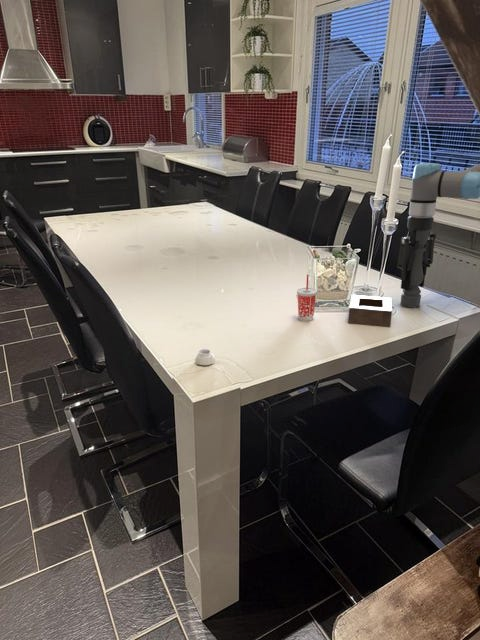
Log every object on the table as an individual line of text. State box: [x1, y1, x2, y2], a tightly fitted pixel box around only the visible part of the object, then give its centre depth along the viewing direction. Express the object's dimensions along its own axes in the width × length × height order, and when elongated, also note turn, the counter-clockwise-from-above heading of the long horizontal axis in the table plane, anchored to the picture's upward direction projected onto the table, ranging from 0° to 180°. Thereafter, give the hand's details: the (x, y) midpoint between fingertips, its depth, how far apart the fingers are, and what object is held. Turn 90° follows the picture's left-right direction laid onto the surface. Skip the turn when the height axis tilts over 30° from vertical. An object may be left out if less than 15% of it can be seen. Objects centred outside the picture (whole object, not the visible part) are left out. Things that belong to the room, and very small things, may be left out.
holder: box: [347, 294, 393, 328], centre depth 143 cm, size 12×12×5 cm
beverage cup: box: [296, 274, 318, 322], centre depth 142 cm, size 6×6×14 cm
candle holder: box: [399, 230, 429, 308], centre depth 150 cm, size 6×6×25 cm
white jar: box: [194, 348, 216, 366], centre depth 117 cm, size 5×3×5 cm
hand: (412, 287), depth 152 cm, fingers closed on candle holder, 6 cm apart
